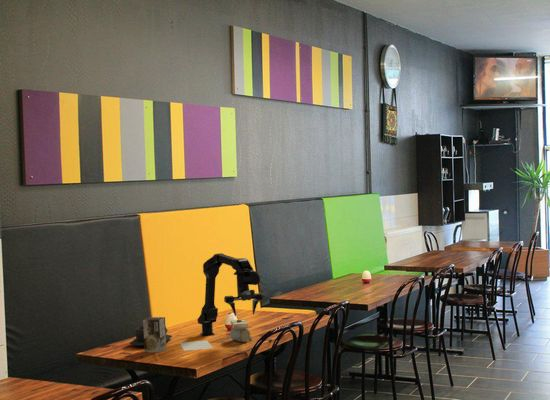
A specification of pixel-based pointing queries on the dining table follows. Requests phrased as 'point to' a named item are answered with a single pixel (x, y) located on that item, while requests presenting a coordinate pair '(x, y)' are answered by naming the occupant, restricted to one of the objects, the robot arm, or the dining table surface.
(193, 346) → the mat
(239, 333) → the ceramic mug
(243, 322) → the lid
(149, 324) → the coffee box
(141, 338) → the casserole
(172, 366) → the dining table surface
